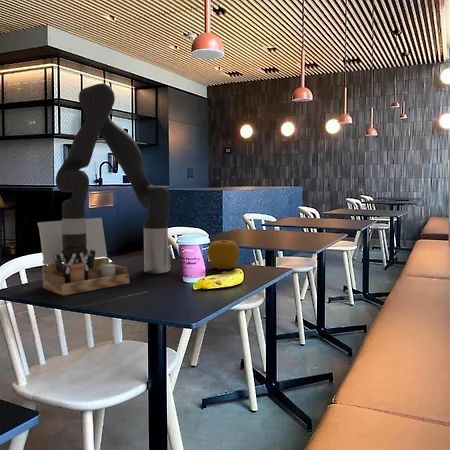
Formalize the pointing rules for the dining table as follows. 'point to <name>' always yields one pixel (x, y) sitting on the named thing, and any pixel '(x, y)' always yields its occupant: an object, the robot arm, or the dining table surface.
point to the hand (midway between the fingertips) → (75, 282)
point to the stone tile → (132, 294)
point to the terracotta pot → (77, 272)
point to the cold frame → (57, 281)
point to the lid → (53, 239)
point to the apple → (223, 254)
